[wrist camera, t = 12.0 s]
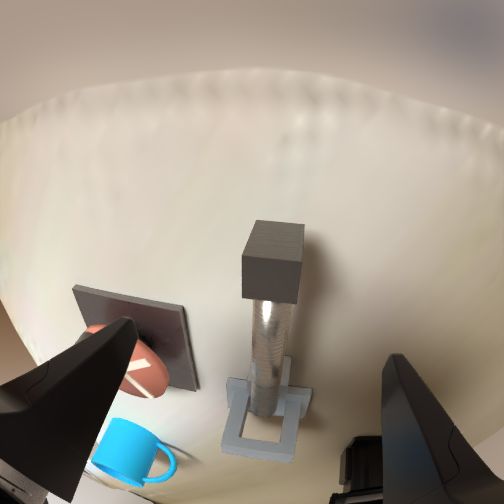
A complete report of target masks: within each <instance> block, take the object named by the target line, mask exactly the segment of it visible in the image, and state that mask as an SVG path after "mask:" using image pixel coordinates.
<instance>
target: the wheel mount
mask: <svg viewBox="0 0 504 504" xmlns="http://www.w3.org/2000/svg"><path fill="white" fill-rule="evenodd" d="M72 290H73V293H74V296H75V298H76V301H77V304H78V306H79V309H80V311H81V314H82V316H83V319H84V321H85V323H86V326H87V328H88V327H90V326H92V325H97V324H102V325H109V324H110V323H112V322H114V321H115V320H117V319H119V318H120V317H128V318H132V319H133V320H134V323H135V326H136V330H137V333H138V340H140V341H141V342H143V343H144V344H145V345H146V346H148V347H149V348H150V349H151V350H152V351H153V352H154V353H155V354H156V355H157V356H158V357H159V358H160V359H161V361H162V362H163V363H164V365H165V366H166V368H167V370H168V373H169V384H168V385H169V386H173V387H177V388H182V389H186V390H190V391H195V392H196V391H197V388H198V385H197V380H196V375H195V371H194V366H193V361H192V356H191V350H190V345H189V340H188V334H187V329H186V323H185V317H184V311H183V306H180V305H174V304H169V303H163V302H158V301H152V300H147V299H142V298H136V297H131V296H126V295H121V294H116V293H112V292H107V291H102V290H98V289H93V288H89V287H84V286H80V285H75V286H74V287H73V288H72Z"/></svg>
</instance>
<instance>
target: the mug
mask: <svg viewBox="0 0 504 504" xmlns="http://www.w3.org/2000/svg"><path fill="white" fill-rule="evenodd" d="M159 448H160V449H162V450H163V451H164V452H165V453H166V454H167V455H168V456H169V459H170V462H171V463H170V468H169V470H168V471H167V473H165V474H164V475H162V476H159V477H156V478H147V476H148V473H149V471H150V468H151V466H152V463H153V461H154V459H155V456H156V454H157V451H158V449H159ZM91 463H92V464H93V465H95V466H96V467H97V468H99V469H100V470H102V471H103V472H105V473H107V474H109V475H110V476H112V477H114V478H116V479H118V480H121V481H123V482H125V483H128V484H130V485H133V486H137V487H143V486H144V483H145V482H147V483H159V482H163V481H166V480H168V479H169V478H171V477H172V476H173V475H174V473H175V472H176V470H177V461H176V458H175V456H174V454H173V453H172V452H171V451H170V449H168V448H167V447H166V446H164V445H163V444H161V443H160V440H159V439H158V438H157V437H156V436H155V435H154V434H152V433H151V432H150V431H148V430H146V429H145V428H143V427H141V426H139V425H137V424H135V423H133V422H130V421H128V420H124V419H121V418H113V419H112V420H111V422H110V424H109V426H108V428H107V430H106V432H105V434H104V436H103V438H102V440H101V442H100V444H99V446H98V448H97V450H96V452H95V454H94V456H93V458H92V460H91Z"/></svg>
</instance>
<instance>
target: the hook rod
mask: <svg viewBox="0 0 504 504" xmlns="http://www.w3.org/2000/svg"><path fill="white" fill-rule="evenodd" d="M304 226H305V225H304V224H294V223H284V222H274V221H263V220H256V222H255V225H254V227H253V229H252V232H251V234H250V237H249V239H248V241H247V244H246V246H245V249H244V251H243V254H242V298H246V299H253V330H252V377H251V410H252V412H253V413H254V414H255V415H256V416H258V417H261V418H267V417H270V416H272V415H273V414H274V413H275V412H276V410H277V405H278V398H279V392H280V385H281V379H282V372H283V365H284V358H285V351H286V344H287V336H288V329H289V321H290V313H291V305H292V304H297V297H298V290H299V282H300V274H301V265H302V254H303V241H304Z"/></svg>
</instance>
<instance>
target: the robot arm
mask: <svg viewBox="0 0 504 504" xmlns="http://www.w3.org/2000/svg"><path fill="white" fill-rule="evenodd" d="M137 340H138V333H137V330H136V326H135V323H134V320H133V319H132V318H128V317H120V318H119V319H117V320H115V321H114V322H112V323H110V324H109V325H107V326H105V327H103V328H102V329H100V330H98V331H97V332H95V333H93V334H92V335H90V336H88V337H87V338H85V339H83V340H82V341H80V342H78V343H77V344H75V345H73V346H72V347H70V348H68V349H67V350H65V351H63V352H62V353H60V354H58V355H57V356H55V357H53V358H52V359H50V361H49V360H48V361H47V362H45V363H43V364H42V365H40V366H38V367H37V368H35V369H33V370H31V371H29V372H27V373H25V374H23V375H21V376H19V377H17V378H15V379H13V380H11V381H9V382H7V383H5V384H3V385H1V386H0V504H48V501H47V498H46V496H47V494H48V492H51V493H53V494H54V495H56V496H58V497H60V498H62V499H63V500H65V501H67V502H69V503H71V501H72V499H73V496H74V494H75V491H76V488H77V486H78V484H79V481H80V478H81V476H82V473H83V471H84V468H85V466H86V463H87V460H88V458H89V456H90V453H91V451H92V448H93V446H94V443H95V441H96V439H97V436H98V434H99V432H100V429H101V427H102V425H103V423H104V420H105V418H106V416H107V413H108V411H109V409H110V407H111V405H112V402H113V400H114V398H115V396H116V394H117V391H118V389H119V387H120V385H121V383H122V381H123V379H124V376H125V374H126V371H127V369H128V366H129V363H130V360H131V357H132V354H133V352H134V349H135V346H136V343H137ZM381 424H382V437H356V438H354V439H353V441H352V442H351V444H350V445H349V446H348V447H347V448H346V449H345V451H344V452H343V453H342V455H341V459H340V477H339V484H340V485H344V488H343V493H340V494H338V493H333V494H332V497H330V502H329V504H504V480H501V479H500V478H498V477H497V476H496V475H495V474H494V473H493V472H492V471H491V470H490V468H489V467H488V466H487V465H486V464H485V463H484V461H483V460H482V459H481V458H480V457H479V455H478V454H477V453H476V452H475V451H474V449H473V448H472V447H471V446H470V445H469V443H468V442H467V441H466V439H465V438H464V437H463V435H462V434H461V432H460V431H459V430H458V428H457V427H456V426H454V423H453V421H452V420H451V418H450V417H449V416H448V414H447V413H446V411H445V410H444V409H443V407H442V406H441V404H440V403H439V402H438V400H437V399H436V398H435V396H434V395H433V393H432V392H431V391H430V389H429V388H428V387H427V385H426V384H425V383H424V381H423V380H422V379H421V377H420V376H419V375H418V373H417V372H416V371H415V369H414V368H413V367H412V366H411V364H410V363H409V362H408V360H407V359H406V358H405V356H404V355H403V354H398V353H392V354H390V356H389V358H388V360H387V362H386V364H385V366H384V368H383V371H382V397H381Z"/></svg>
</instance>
